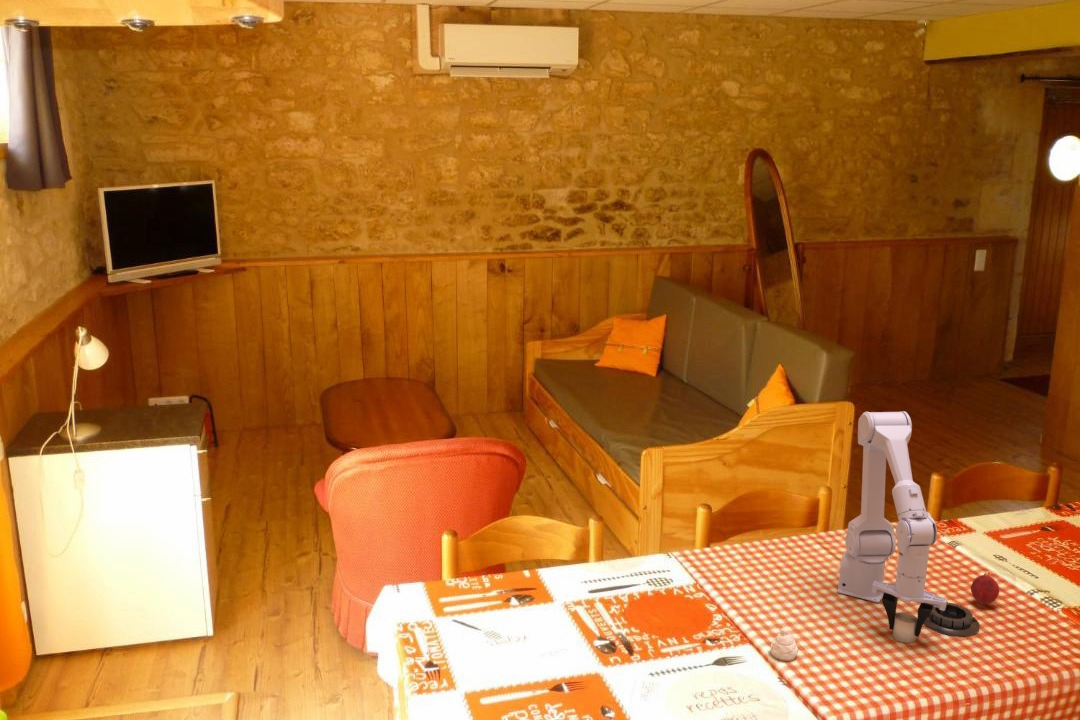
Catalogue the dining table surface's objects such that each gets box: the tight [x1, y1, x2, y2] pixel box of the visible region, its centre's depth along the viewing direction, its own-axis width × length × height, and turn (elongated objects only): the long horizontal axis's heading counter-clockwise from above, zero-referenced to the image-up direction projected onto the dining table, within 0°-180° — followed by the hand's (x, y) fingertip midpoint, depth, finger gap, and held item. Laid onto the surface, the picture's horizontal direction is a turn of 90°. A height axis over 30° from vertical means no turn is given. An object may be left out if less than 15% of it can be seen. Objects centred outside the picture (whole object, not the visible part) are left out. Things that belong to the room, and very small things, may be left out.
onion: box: [970, 570, 1000, 606], centre depth 216 cm, size 6×6×8 cm
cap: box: [892, 611, 918, 644], centre depth 202 cm, size 5×5×5 cm
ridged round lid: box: [923, 601, 981, 638], centre depth 209 cm, size 12×12×3 cm
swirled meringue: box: [770, 626, 799, 662], centre depth 194 cm, size 6×6×5 cm
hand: (904, 631), depth 202 cm, fingers closed on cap, 5 cm apart
